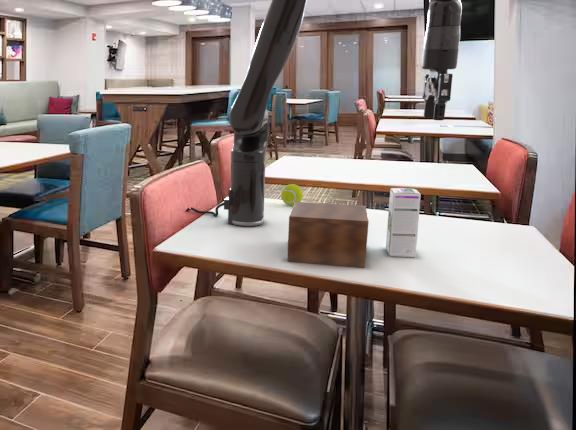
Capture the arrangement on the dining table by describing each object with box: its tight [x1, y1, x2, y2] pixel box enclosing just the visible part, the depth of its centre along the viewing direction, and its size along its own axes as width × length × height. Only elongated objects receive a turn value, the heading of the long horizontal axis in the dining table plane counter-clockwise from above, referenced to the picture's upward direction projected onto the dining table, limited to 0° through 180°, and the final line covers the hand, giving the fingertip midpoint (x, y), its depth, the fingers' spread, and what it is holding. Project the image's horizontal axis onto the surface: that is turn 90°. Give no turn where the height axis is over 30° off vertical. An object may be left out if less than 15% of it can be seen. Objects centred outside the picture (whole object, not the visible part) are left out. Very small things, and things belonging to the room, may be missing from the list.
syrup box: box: [385, 187, 422, 258], centre depth 120 cm, size 6×6×14 cm
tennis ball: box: [280, 183, 304, 207], centre depth 169 cm, size 7×7×7 cm
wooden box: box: [286, 201, 369, 269], centre depth 120 cm, size 16×15×10 cm
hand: (433, 118), depth 129 cm, fingers open, 8 cm apart
